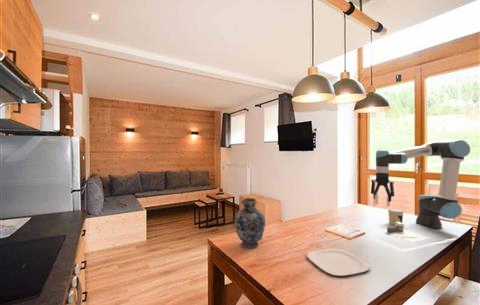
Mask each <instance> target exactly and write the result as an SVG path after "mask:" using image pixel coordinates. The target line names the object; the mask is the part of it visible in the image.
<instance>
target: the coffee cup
mask: <svg viewBox="0 0 480 305" xmlns="http://www.w3.org/2000/svg"><path fill="white" fill-rule="evenodd" d="M387 212H388V222H389V224H390V225H391V226H396V225H395V222H400V223H403V218H404V210H402V209H398V208H388V209H387Z"/></svg>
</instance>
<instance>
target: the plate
mask: <svg viewBox="0 0 480 305" xmlns="http://www.w3.org/2000/svg"><path fill="white" fill-rule="evenodd" d="M306 257H307V259H308V260H309V261H310V262H312V263H313V264H314V265H315V266H316V267H318V268H319V269H320V270H322V271H323V272H324V273H327V274H329V275H332V276H335V277H336V276H337V277H344V276H345V277H346V276H347V277H348V276H352V275H359V274H362V273H365V272H368V271H369V270H370V269H371V267H370V266H369V264H367V263H366V262H365V261H364V260H362V259H360V258H359V257H357V256H356V255H354V254H352V253H350V252H348V251H346V250H344V249H340V248H324V249H319V250H313V251H310V252H308V253H307V254H306Z"/></svg>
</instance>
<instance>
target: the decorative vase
mask: <svg viewBox="0 0 480 305" xmlns="http://www.w3.org/2000/svg"><path fill="white" fill-rule="evenodd" d="M241 204H242V205H243V208H242V209H240V210H238V211H237V212H236V214H235V217H234V228H235V232H236V235H237V236H238V238H239V239H240V241H241V245H242V246H241V245H240V246H241V247H244V248H243V249H246V248H248V249H247V250H253V248H254V249H257V248H258V247H259V245H260V244H259V241H260V240H262V238H263V235H264V231H265V228H266V219H265V218H266V216H265V215H264V213H263V212H262V211H261V210H259V209H257V208H256V204H258V201H257V199H256V198H251V197H250V198H249V196H248V197H247V198H244V199H242V201H241Z"/></svg>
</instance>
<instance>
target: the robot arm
mask: <svg viewBox="0 0 480 305" xmlns="http://www.w3.org/2000/svg"><path fill="white" fill-rule="evenodd" d="M470 153H471V146H470V144H469V143H468V142H467V141H465V140H463V139H445V140H444V139H440V140H436V141H431V142H427V143H424V144H422V145H420V146H414V147H409V148H403V149H399V150H398V149H397V150H391V151H389V150H388V149H386V150H379V149H378V150H376V152H375V179H371V180H370V181H371V188H370V194H373V200H374V205H378V204H379V194H378V192H379V190H380V187H383V188H384V190H385V192H386V195H387V196H386V207H390V205H391V202H392V198H393V197H395V189H394V188H395V187H394V184H395V182H394V181H392V180H391V181H390V179H389V178H390V176H389V175H390V174H389V171H390V170H389V168H390V167H389V165H391V164H392V165H396V164H397V165H401V164H406V163H407V162H408V159H414V158H418V157H419V158H420V157H440V159H441V160H442V167H441V174H440V176H441V177H440V182H439V188H438V194H437V195H436V194H435V195H433V194H431V195H430V194H420V195H419V196H418V215H417V217H416V219H415V224H416V225H418V226H422V227H425V228H428V229H434V230H437V229H439V230H440V229H442V228H443V225H442V222H441V219H440V217H442V218H445V219H450V220H452V219H456V218H458V217H460V216H461V214H462V212H463V208H462V206H461V204H459V203H458V202H459V199H458V198H457V197H456V195H457V188H458V181H459V180H458V179H459V173H460V167H461V166H460V165H461V162H463V161H464V160H465V157H467V156H468V155H470ZM388 184H389V186H388Z"/></svg>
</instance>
